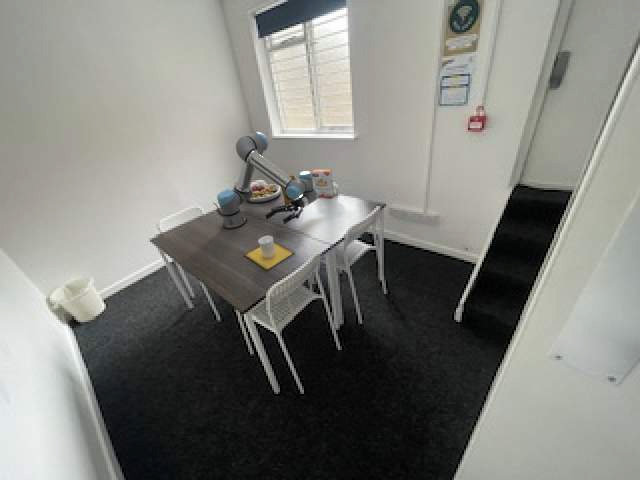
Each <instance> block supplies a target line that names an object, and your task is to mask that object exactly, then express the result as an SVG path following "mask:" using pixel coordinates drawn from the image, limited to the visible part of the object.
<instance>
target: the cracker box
mask: <svg viewBox="0 0 640 480" xmlns="http://www.w3.org/2000/svg"><path fill="white" fill-rule="evenodd" d="M311 174H312V178H313V186H314V189H315V190H317V192H318V198H323V199H324V198H325V199H332V198H333V197H334V196H335V191H334V181H333V173H332V169H313V170H312V171H311Z"/></svg>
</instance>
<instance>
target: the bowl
mask: <svg viewBox="0 0 640 480" xmlns="http://www.w3.org/2000/svg"><path fill="white" fill-rule="evenodd" d="M251 187H252V190H253V195H252V197H251V198H250V199H249V200H248V201H249V202H251V203H264V202H269V201H272V200H274V199H276V198H277V197H278V196H279V195H281V193H282V189H281V186H279V185H278V184H258V185H256V184H254V185H252V186H251Z"/></svg>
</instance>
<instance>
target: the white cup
mask: <svg viewBox="0 0 640 480" xmlns="http://www.w3.org/2000/svg"><path fill="white" fill-rule="evenodd" d="M257 242H258V244H259V247H261V250H262V252H263V255H264V257H265V258H271V257H273V256H275V254H276V251H275V246H274V243H275V242H274V237H273V236H272V235H264V236H262V237H260V238H259V239H257Z"/></svg>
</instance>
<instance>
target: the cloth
mask: <svg viewBox="0 0 640 480" xmlns="http://www.w3.org/2000/svg"><path fill="white" fill-rule="evenodd" d="M274 246H275V251H276V254H275V256H273V257H271V258H265V257H264V255H263V252H262V250H261V247H260V246H259V247H257V248H255V249H253V250H251V251H250V252H248V253H246V254H245V255H244V256H245V257H246V258H248V259H250V261H253V262H254V263H256V264H257V265H258V266H260V267H261V268H263V269H265V270H266V271H268V270H270V269H272V268H273V267H275V266H276V265H278V264H279V263H281V262H283V261H284V260H285V259H287V258H289V257H290V256H292V255H294V252H293V251H291V250H289V249H287V248H285V247H284V246H281V245H280V244H278V243H276V242H274Z"/></svg>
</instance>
